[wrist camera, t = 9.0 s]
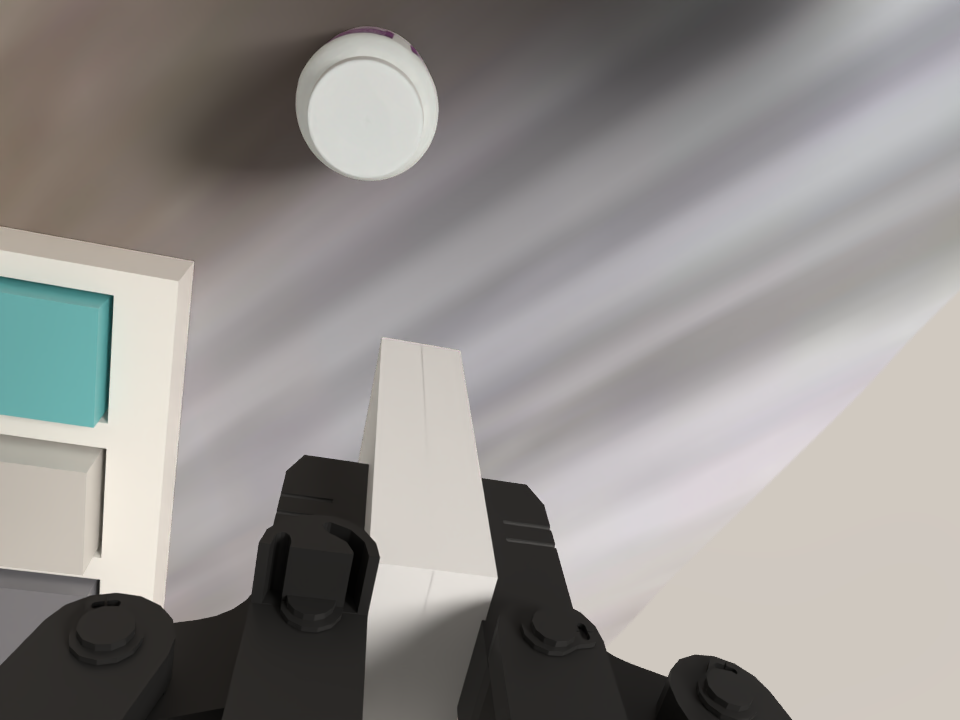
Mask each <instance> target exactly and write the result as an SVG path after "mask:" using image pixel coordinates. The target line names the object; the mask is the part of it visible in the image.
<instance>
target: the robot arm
mask: <svg viewBox="0 0 960 720" xmlns="http://www.w3.org/2000/svg"><path fill="white" fill-rule="evenodd" d="M554 547H555V542H554V539H553V535H552V532H551V530H550V524H549V521H548V517H547V514H546V510H545V507H544V504H543V503H542V502H541V501H540V500H539V499H538V497H537V496H536V495H535V494H534V493H533V492H532V491H531V489H530V488H529V487H528V486H527V485H525V484H518V483H511V482H504V481H497V480H490V479H483V478H481V473H480V467H479V461H478V455H477V449H476V443H475V437H474V431H473V425H472V418H471V412H470V406H469V400H468V394H467V388H466V382H465V376H464V370H463V364H462V358H461V352H460V350H455V349H449V348H443V347H437V346H432V345H426V344H420V343H414V342H408V341H403V340H397V339H391V338H385V337H382V339H381V344H380V350H379V355H378V360H377V365H376V371H375V376H374V381H373V386H372V392H371V397H370V402H369V407H368V413H367V418H366V423H365V428H364V434H363V439H362V444H361V449H360V455H359V460H358V463H357V462H350V461H343V460H336V459H329V458H322V457H315V456H308V455H304V456H303V457H302V458H301V459H299V460H298V461H297V462H296V463H295V464H294V465H293V466H292V467H291V468H289V469H288V470H287V471H286V475H285V479H284V483H283V487H282V491H281V496H280V500H279V504H278V508H277V513H276V516H275V520H274V524H273V526H272V527H270V528H268V529H267V530H266V532H265V534H264V535H263V537H262V538H261V540H260V542H259V545H258V552H257V560H256V567H255V574H254V581H253V588H252V594H251V595H250V596H249V598H248V599H247V600H246V601H244V602H243V603H241V604H240V605H238V606H237V607H235V608H234V609H232V610H230V611H227V612H225V613H222V614H220V615H217V616H214V617H209V618H204V619H200V620H193V621H185V622H178V623H173V619H172V618H171V617H170V616H169V615H168V613H167V612H166V611H165V610H164V609H163V608H162V606H161V605H159V604H157V603H155V602H152V601H150V600H148V599H146V598H144V597H142V596H137V595H130V594H122V593H109V594H100V595H91V596H88V597H85V598H82V599H79V600H77V601H74V602H71V603H69V604H66V605H64V606H63V607H61V608H60V609H59V610H57V611H56V612H54V613H53V614H52V615H50V616H49V617H48V618H46V619H45V620H44V621H43V622H42V623H41V624H40V625H39V626H38V627H37V628H36V629H35V630H34V631H33V632H32V633H31V634H30V635H29V636H28V637H27V638H26V639H25V640H24V641H23V642H22V643H21V645H20V646H19V647H18V648H17V649H16V650H15V651H14V652H13V653H12V654H11V655H10V656H9V657H8V658H7V659H6V660H5V661H4V662H3V663H2V664H1V665H0V720H457V718H458V720H792V719H791V718H790V717H789V715H788V714H787V713H786V711H785V710H784V709H783V708H782V706H781V705H780V704H779V703H778V701H777V700H776V699H775V697H774V696H773V695H772V694H771V692H770V691H769V690H768V689H767V688H766V687H764V685H763V684H762V683H761V682H759V681H758V680H757V678H756V677H754V676H753V675H751V674H750V673H748V672H747V671H745V670H743V669H742V668H740V667H739V666H737V665H736V664H734V663H731V662H728V661H725V660H722V659H720V658H717V657H714V656H704V655H692V656H689V657H686V658H682V659H679V661H678V662H677V663H676V664H675V665H674V667H673V668H672V669H671V671H670V673H669V675H668V677H665V676H663V675H660V674H657V673H655V672H652V671H649V670H646V669H644V668H641V667H638V666H635V665H633V664H630V663H628V662H625V661H623V660H621V659H619V658H617V657H615V656H613V655H611V654H610V653H608V652H607V651H606V648H605V645H604V641H603V640H602V638H601V636H600V634H599V632H598V631H597V629H596V627H595V626H594V625H593V624H592V623H591V622H590V621H589V620H588V619H587V618H586V617H585V616H584V615H583V614H581V613H580V612H578V611H577V610H575V609H573V607H572V603H571V600H570V596H569V592H568V589H567V585H566V582H565V578H564V575H563V571H562V567H561V564H560V560H559V557H558V553H557V550H556V548H554Z"/></svg>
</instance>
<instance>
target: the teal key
mask: <svg viewBox="0 0 960 720" xmlns="http://www.w3.org/2000/svg"><path fill="white" fill-rule="evenodd" d="M113 305H114V295H108V294H102V293H97V292H91V291H85V290H79V289H73V288H67V287H61V286H55V285H50V284H44V283H38V282H32V281H26V280H20V279H14V278H9V277H3V276H0V415H7V416H14V417H21V418H28V419H35V420H42V421H49V422H56V423H63V424H70V425H77V426H84V427H91V428H94V427H95V426H96V424H97V423H98V421H99V420H100V419H101V417H102V416H103V414H104V413H105V412H106V410H107V409H108V407H109V388H110V367H111V347H112V326H113Z"/></svg>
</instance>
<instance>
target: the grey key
mask: <svg viewBox="0 0 960 720" xmlns="http://www.w3.org/2000/svg"><path fill="white" fill-rule="evenodd" d="M106 450H107V449H105V448H98V447H91V446H84V445H76V444H69V443H62V442H55V441H48V440H40V439H33V438H26V437H19V436H12V435H5V434H0V566H3V567H12V568H21V569H29V570H38V571H47V572H56V573H65V574H74V575H82V576H83V574H84V572H85V571H86V569H87V567H88V565H89V563H90V562H91V560H92V558H93V556H94V554H95V552H96V551H97V549H98V547H99V545H100V543H101V542H102V533H103V513H104V492H105V471H106Z"/></svg>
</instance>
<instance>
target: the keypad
mask: <svg viewBox="0 0 960 720" xmlns="http://www.w3.org/2000/svg"><path fill="white" fill-rule="evenodd" d="M193 271H194V261H190V260H185V259H179V258H173V257H168V256H162V255H157V254H151V253H146V252H140V251H135V250H129V249H124V248H118V247H112V246H107V245H101V244H96V243H90V242H85V241H79V240H74V239H68V238H63V237H57V236H51V235H46V234H40V233H35V232H29V231H24V230H18V229H13V228H7V227H2V226H0V276H3V277H9V278H14V279H20V280H26V281H32V282H38V283H44V284H50V285H55V286H61V287H67V288H73V289H79V290H85V291H91V292H97V293H102V294H108V295H114V305H113V326H112V347H111V367H110V388H109V407H108V409H107V410H106V412H105V413H104V414H103V416H102V417H101V419H100V420H99V421H98V423H97V424H96V426H95V427H94V428H91V427H84V426H77V425H70V424H63V423H56V422H49V421H42V420H35V419H28V418H21V417H14V416H7V415H0V434H5V435H12V436H19V437H26V438H33V439H40V440H48V441H55V442H62V443H69V444H76V445H84V446H91V447H98V448H105V449H107V450H106V471H105V492H104V513H103V533H102V542H101V543H100V545H99V547H98V549H97V551H96V552H95V554H94V556H93V558H92V560H91V562H90V563H89V565H88V567H87V569H86V571H85V572H84V574H83V576H82V575H74V574H65V573H56V572H47V571H38V570H29V569H21V568H12V567H3V566H0V568H3V569H11V570H20V571H29V572H38V573H47V574H56V575H64V576H73V577H82V578H91V579H100V594H109V593H122V594H130V595H137V596H142V597H144V598H146V599H148V600H150V601H152V602H155V603H157V604H159V605H161V606H162V608H163V609H164V601H165V589H166V578H167V567H168V555H169V544H170V533H171V521H172V510H173V499H174V487H175V476H176V464H177V453H178V442H179V430H180V419H181V408H182V396H183V385H184V374H185V362H186V351H187V339H188V328H189V317H190V305H191V294H192V283H193Z"/></svg>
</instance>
